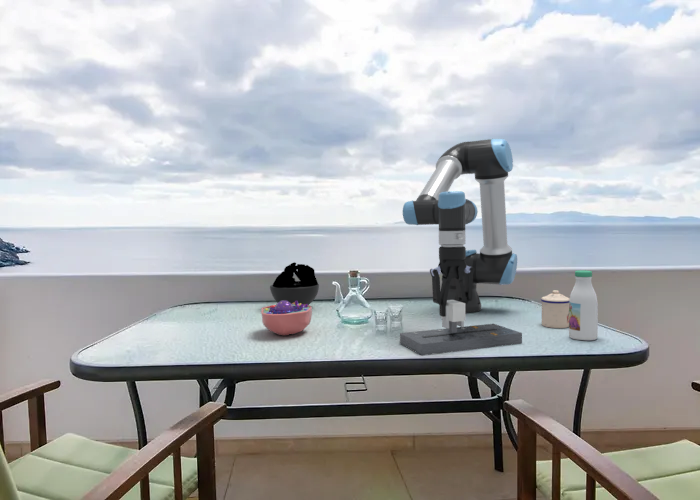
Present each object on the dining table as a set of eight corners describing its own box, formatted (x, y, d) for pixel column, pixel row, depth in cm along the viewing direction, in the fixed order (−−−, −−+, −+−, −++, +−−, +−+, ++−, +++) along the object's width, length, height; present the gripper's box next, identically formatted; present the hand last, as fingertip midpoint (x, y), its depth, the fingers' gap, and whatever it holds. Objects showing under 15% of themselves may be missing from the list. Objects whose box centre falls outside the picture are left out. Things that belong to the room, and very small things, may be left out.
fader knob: (440, 330, 149) (440, 300, 149) (452, 329, 150) (452, 299, 150) (453, 335, 142) (452, 304, 142) (465, 334, 144) (465, 303, 143)
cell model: (320, 327, 174) (319, 294, 173) (303, 341, 154) (302, 304, 153) (273, 326, 177) (272, 294, 176) (250, 340, 158) (249, 303, 157)
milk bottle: (595, 335, 153) (596, 269, 151) (599, 341, 145) (599, 272, 144) (567, 334, 155) (568, 269, 154) (569, 340, 148) (570, 272, 147)
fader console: (399, 343, 149) (399, 332, 149) (493, 333, 159) (493, 323, 159) (421, 355, 136) (421, 343, 135) (522, 343, 146) (522, 332, 146)
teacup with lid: (574, 328, 162) (574, 292, 162) (545, 328, 163) (545, 292, 163) (563, 321, 174) (563, 287, 174) (535, 321, 175) (535, 287, 175)
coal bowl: (308, 314, 197) (307, 266, 195) (262, 312, 203) (260, 265, 202) (326, 305, 216) (325, 261, 214) (283, 304, 222) (282, 261, 220)
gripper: (431, 247, 139) (432, 332, 140) (485, 245, 144) (486, 326, 145) (419, 246, 146) (420, 326, 147) (471, 244, 151) (471, 321, 153)
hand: (452, 326), depth 146 cm, fingers closed on fader knob, 4 cm apart
